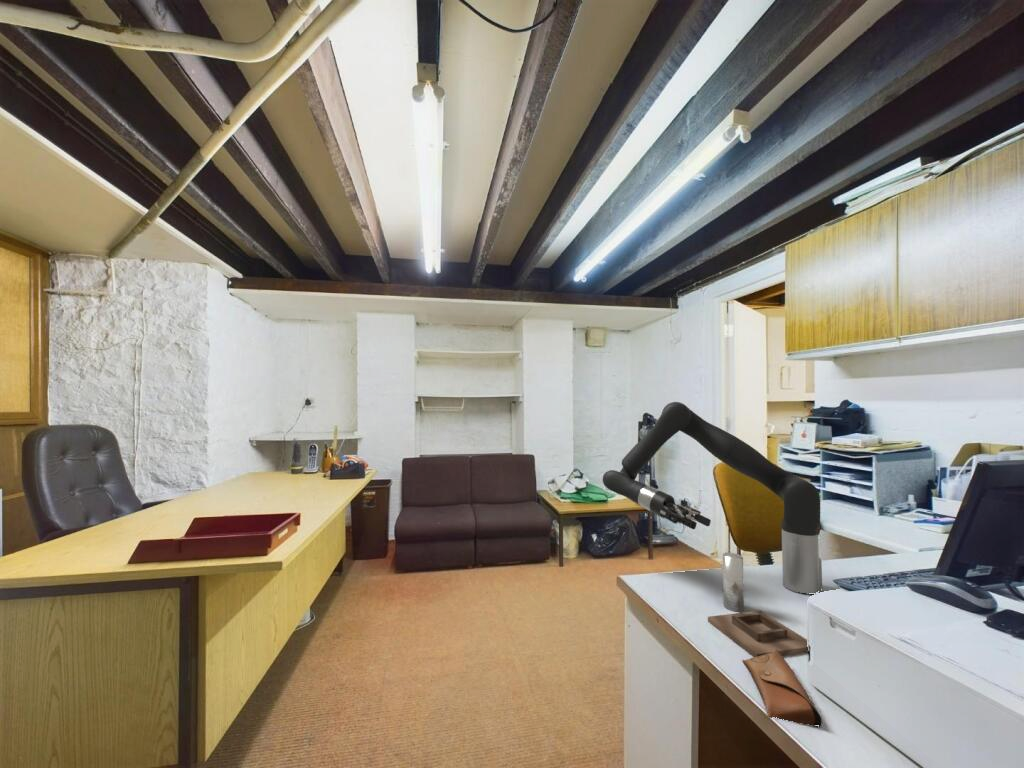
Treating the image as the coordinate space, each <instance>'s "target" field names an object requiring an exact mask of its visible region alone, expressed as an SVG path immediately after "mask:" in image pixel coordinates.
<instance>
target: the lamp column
mask: <svg viewBox="0 0 1024 768" xmlns="http://www.w3.org/2000/svg"><path fill="white" fill-rule="evenodd" d="M722 590H723V591H722V594H723V595H722V597H723V598H722V599H723V602H722V603H723V608H725V609H727V611H731V612H734V613H743V612H744V611H745V599H744V598H745V597H744V596H745V594H744V592H745V591H744V590H745V589H744V557H743V556H742V555H741V554H738V553H734V552H723V553H722Z"/></svg>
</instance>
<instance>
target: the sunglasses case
mask: <svg viewBox="0 0 1024 768" xmlns="http://www.w3.org/2000/svg"><path fill="white" fill-rule="evenodd" d="M741 661H742V663H743V664H744V666H745V668H746V669H747V670H748V672H749V674H750V676H751V678H752V680H753V682H754V684H755V686H756V688H757V691H758V693H759V695H760V697H761V699H762V702H763V704H764V707H765V712H766V711H767V712H766V714H767V717H768V718H771V719H772V717H775V718H776V717H777V718H779V719H778V720H780V719H782V720H781V721H785V720H788V721H787V722H790V721H793V722H792V723H795V722H796V724H800V723H803V724H802V725H805V724H809V725H808V726H810V725H819V728H820V727H822V724H823V723H822V722H823V720H822V716H821V714H820V713H819V711H818V710H817V709H816V707H815V705H814V702H813V701H812V700H811V698H810V697H809V695H808V693H807V691H806V689H805V688H804V686H803V685H802V683H801V682H800V681H799V679H798V676H796V673H795V672H794V671H793V669H792V668H791V666H790V665H789V664H788V662H787V661H786V659H785V658H784V656H782V655H781V654H780V652H779V651H778V650H777V649H776V650H775V652H772V653H768V654H765V655H761V656H757V657H751V658H747V659H742V660H741ZM783 719H784V720H783Z"/></svg>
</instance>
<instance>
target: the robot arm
mask: <svg viewBox="0 0 1024 768" xmlns="http://www.w3.org/2000/svg"><path fill="white" fill-rule="evenodd" d="M679 431H680V432H681V433H683V434H685V435H687V436H689V437H690V438H692V439H693V440H695V441H696V442H698V444H700V445H701V446H702V447H703V448H704V449H705V450H707V451H708V453H710V454H712V456H714V457H715V458H717V459H718V460H719V461H720V462H722V463H724V464H725V465H727V466H728V467H730V468H732V469H734V470H735V471H737V472H739V473H740V474H743V475H744V476H746V477H749V478H751V479H753V480H756V481H757V482H759V483H760V484H761V485H763V486H764V487H766V488H767V489H769V490H770V491H771V492H772V493H774V494H775V495H776V496H777V497H778V498H780V499H781V500H782V501H783V518H782V519H781V523H780V524H781V553H782V554H781V555H782V557H781V560H782V567H781V568H782V586H783V587H784V588H786V589H788V590H789V591H792V592H795V593H798V592H800V593H799V594H802V593H808V594H807V595H809V593H816V592H818V591H820V590H821V589H822V590H823V570H822V569H823V567H822V563H823V561H822V558H820V557H819V556H820V554H819V551H820V550H819V528H820V525H821V495H820V492H819V489H818V488H817V487H816V486H815V485H813V484H812V483H811V482H809V481H808V480H805V479H804V478H802V477H799V476H797V475H795V474H793V473H791V472H789V471H786V470H785V469H784V468H781V467H779V466H777V465H776V464H774V463H773V462H772V461H770V460H769V459H768V458H766V457H765V456H764V455H763V454H761V453H760V452H759V450H757V449H755V448H754V447H752V446H751V445H750V444H748V443H746V442H745V441H744V440H742V439H740V438H738V437H737V436H735V435H733V434H731V433H730V432H728V431H726V430H724V429H722V428H721V427H718V426H716V425H714V424H712V423H710V422H708V421H707V420H705V419H703V418H702V417H701V416H699V415H698V414H697V413H695V412H694V411H693V410H692V409H690V407H688V406H687V405H686V404H685V403H682V402H679V401H672V402H669V403H667V404H666V405H665V406H664V407H663V409H662V412H661V414H660V416H659V418H658V419H657V420H656V421H655V423H654V425H653V426H652V427H651V429H650V430H649V431H648V432H647V434H646V435H645V436H644V437H642V438H641V439H640V440H639V441H638V442H637V443H636V444H635V445H634V446H633V447H632V448H631V449H630V451H628V452H627V454H626V455H625V456H624V457H623V458H622V460H621V465H622V468H621V469H620V471H618V470H616V469H615V470H614V469H609V470H607V471H606V472H605V473H604V474H603V475H602V483H603V486H604V487H605V488H606V489H608V490H609V491H611V492H613V493H615V494H618V495H620V496H623V497H626V498H627V499H629V500H630V501H632V502H634V503H635V504H637V505H638V506H639V505H640V506H641V507H642V508H644V509H645V510H647V511H649V512H651V513H652V514H654V515H656V516H658V517H660V518H663V519H666V520H667V521H670V522H672V523H673V524H675V525H676V524H679V525H683V526H686V527H687V528H689V529H691V530H695V529H696V528H697V524H698V523H699V524H701V525H704V527H705V526H706V527H710V525H711V522H712V521H711V519H710V518H708V517H706V516H703V515H702V514H701V513H702V512H701V511H700V510H698V509H695V508H694V507H690V505H687V504H684V503H683V504H679V503H677V504H676V502H675V501H676V500H675V498H674V497H673V496H672V495H670V494H668V493H666V492H664V491H662V490H660V489H657V488H656V487H653V486H651V485H647V484H645V483H643V482H641V481H639V480H636V479H637V476H638V474H639V473H640V472H641V471H642V470H643V469H644V467H645V466H646V465H647V464H648V463H649V462H650V461H651V460H652V458H653V457H654V456H655V455H656V454H657V452H658V451H659V450H660V449H661V448H662V447H663V445H665V443H666V442H667V441H668V440H670V439H671V438H672V437H674V436H675V435H676V434H677V433H679ZM820 592H821V591H820Z"/></svg>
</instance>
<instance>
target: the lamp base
mask: <svg viewBox="0 0 1024 768" xmlns="http://www.w3.org/2000/svg"><path fill="white" fill-rule="evenodd" d="M707 623H709V624H711V625H712V626H713V627H714V628H716V629H717V630H718V631H720V632H721V633H722V634H723V635H725V636H726V637H727V638H728V639H730V640H731V641H733V642H734V643H735V644H736V645H737V646H739V647H740V648H741V649H742V650H744V651H745V652H746V653H748V654H749V655H751V657H752V658H754V657H757V656H761V655H765V654H768V653H772V652H775V650H776V649H777V650H778V651H779V652H780V654H781V655H782V657H785V656H786V657H787V656H792V655H799V653H800V654H807V653H808V652H807V651H808V647H807V640H808V639H807V638H805V637H804V636H802V635H800V634H799V633H798V632H795V630H792V629H791V628H789V627H787V626H786V625H784V624H783V623H782V622H779V621H778V620H777V619H775V618H773V617H771V616H770V615H768V614H767V613H766V612H763V611H762V610H752V611H745V612H744V611H742V612H734V613H729V614H728V613H727V614H720V615H719V614H718V615H712V616H707Z"/></svg>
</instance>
